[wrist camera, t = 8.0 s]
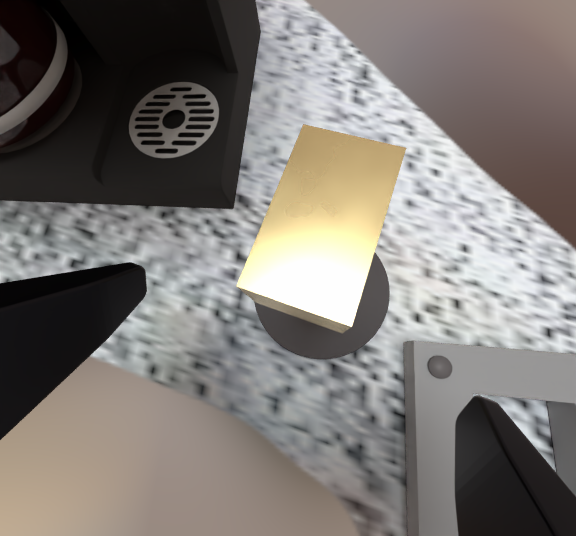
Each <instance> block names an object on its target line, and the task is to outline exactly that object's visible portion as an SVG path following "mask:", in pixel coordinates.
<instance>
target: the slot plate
mask: <svg viewBox="0 0 576 536" xmlns="http://www.w3.org/2000/svg"><path fill="white" fill-rule="evenodd" d="M404 381H405V433H406V485H407V536H458V527H457V516H456V506H455V484H454V479H455V423H456V419H457V416H458V415H459V413H460V412H461V411H462V410H463V408H464V407H465V406H466V405H467V404H468V402H469V401H470V400H471V399H472V398H473V393H475V394H485V395H495V396H505V397H515V398H525V399H535V400H545V401H547V406H548V413H549V420H550V427H551V434H552V441H553V449H554V456H555V463H556V470H557V475H558V476H559V477H560V478H561V479H562V480H563V482H564V483H565V484H566V485H567V486H568V488H569V489H570V490H571V491H572V492H573V494H574V495H575V496H576V354H566V353H554V352H542V351H530V350H518V349H506V348H494V347H482V346H470V345H458V344H445V343H433V342H421V341H409V342H404Z"/></svg>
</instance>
